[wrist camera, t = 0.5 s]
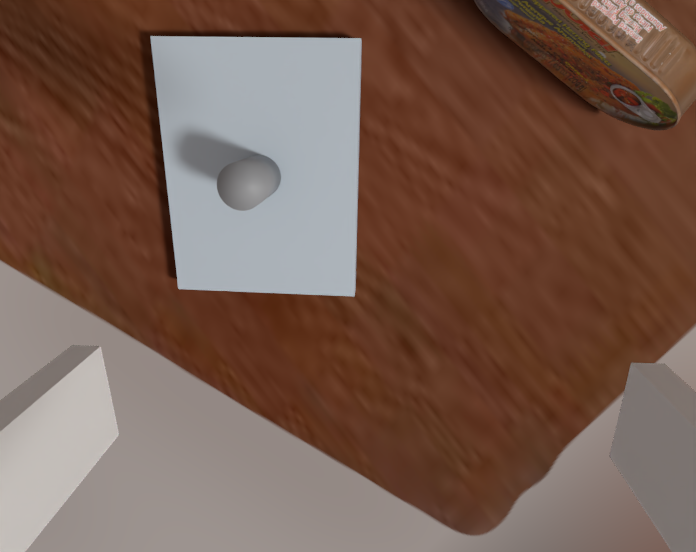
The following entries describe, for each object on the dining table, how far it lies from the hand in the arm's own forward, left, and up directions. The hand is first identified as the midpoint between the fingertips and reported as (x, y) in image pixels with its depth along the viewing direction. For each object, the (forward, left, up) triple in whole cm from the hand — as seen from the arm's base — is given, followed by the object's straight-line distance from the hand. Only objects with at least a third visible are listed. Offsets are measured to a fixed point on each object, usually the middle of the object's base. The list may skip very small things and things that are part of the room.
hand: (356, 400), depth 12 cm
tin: (-11, +12, -25) cm, 30 cm away
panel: (-2, -8, -25) cm, 26 cm away
